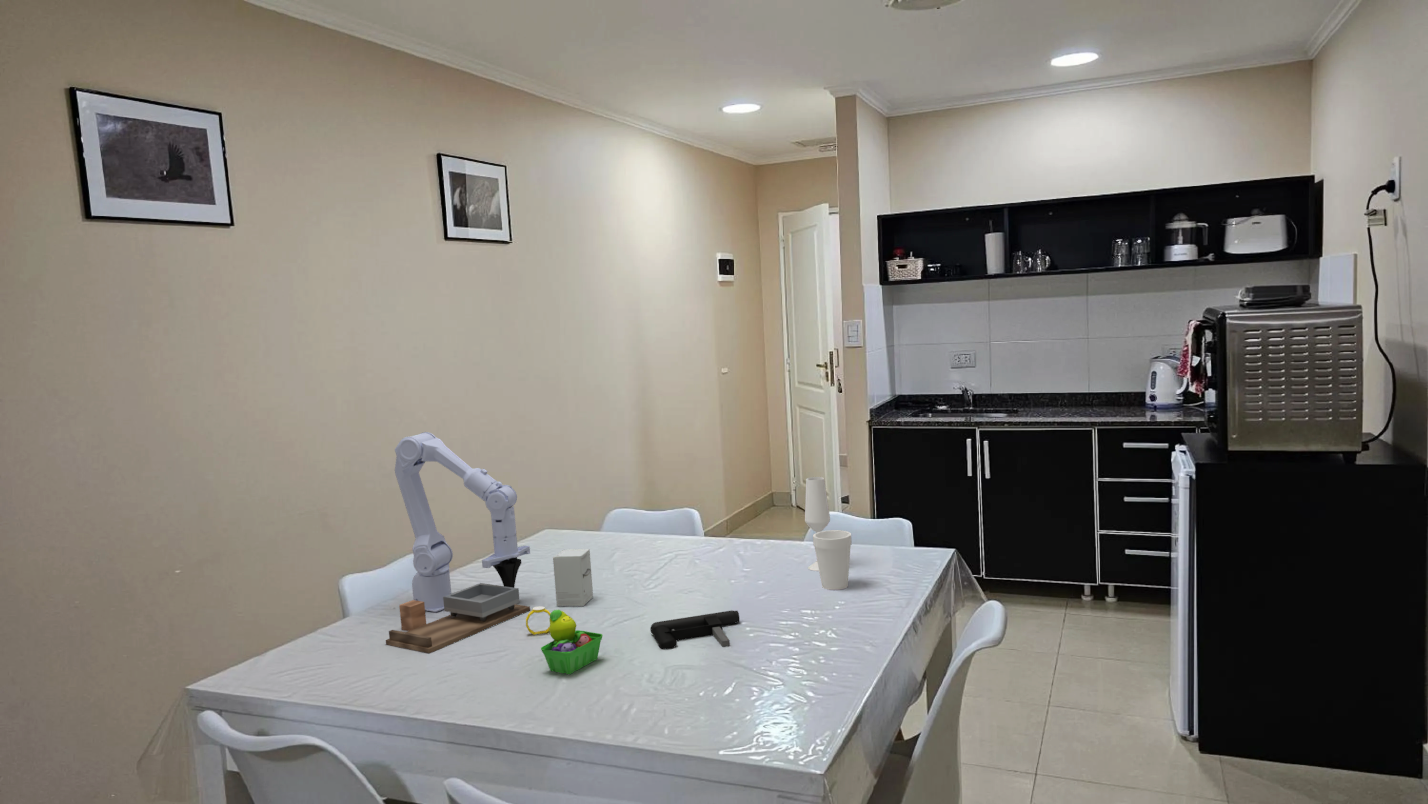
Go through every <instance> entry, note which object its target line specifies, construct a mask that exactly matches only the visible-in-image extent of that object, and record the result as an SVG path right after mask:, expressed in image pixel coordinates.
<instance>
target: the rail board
mask: <svg viewBox="0 0 1428 804" xmlns="http://www.w3.org/2000/svg"><path fill="white" fill-rule="evenodd" d="M529 610H530V611H531V607H530V606H529V605H522V604H518V603H517V604H515V605H514V609H513V610H509V609H508V607H507V608H505V609H502V610H500V611H497V612H495V613H493V614H490V615H488V616H487V619H486V621H480V617H476V616H471V615H465V614H459V613H457V615H456V616H451V614H449V615H446V616H444V617H441V618H439V619H436V620H434V621H431V622H428V623H426V624H425V625H423V626H420V627H418V628H415V629H413V630H410V631H402V630H400V631H399V630H395V629H391V630H388V636H389V638H387V639H386V640H385V645H387V646H393V647H395V648H396V647H397V648H401V649H402V648H403V649H407V650H411V651H416V652H421V653H425V654H432V653H433V652H436V651H438V650H440V649H443V648H445V646H446V647H448V646H450V645H453V644H455V643H457V642H459V640H460V641H461V639H462V640H464V639H466V637H467V638H469V637H470V635H471V636H474V635H476V634H479V633H481V632H483V631H485V630H484V629H486V628H488V629H489V627H490V628H492V627H491V626H493V625H495V626H497V625H499V624H498V623H500V622H502V623H504V622H506V620H507V621H508V619H509V620H511V619H513V618H512V617H514V616H516V615H518V616H520V614H521V615H523V614H526V613H527V612H526V611H528V612H530V611H529ZM522 613H523V614H522ZM516 617H517V616H516ZM510 618H511V619H510ZM514 618H515V617H514ZM503 621H504V622H503ZM496 624H497V625H496ZM500 624H501V623H500ZM493 627H494V626H493ZM482 630H483V631H482ZM486 630H487V629H486ZM480 631H481V632H480ZM478 632H479V633H478ZM473 634H474V635H473ZM468 636H469V637H468ZM463 638H464V639H463ZM454 642H455V643H454ZM447 645H448V646H447Z"/></svg>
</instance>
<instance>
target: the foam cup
mask: <svg viewBox="0 0 1428 804" xmlns="http://www.w3.org/2000/svg"><path fill="white" fill-rule="evenodd" d="M812 540H813V541H812V542H813V548H814V552H815V556H816V561H817V562H818V567H819V571H818V572H819V576H820V582H821V586H822V588H823V589H824V590H827V591H828V590H829V591H839V590H844V589H846V588H848V585H849V574H850V573H849V572H850V559H851V548H852V547H851V546H852V533H851V532H850V531H847V530H837V529H833V530H832V529H831V530H822V531H821V532H817V533H816V532H815V533H813V535H812Z"/></svg>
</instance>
